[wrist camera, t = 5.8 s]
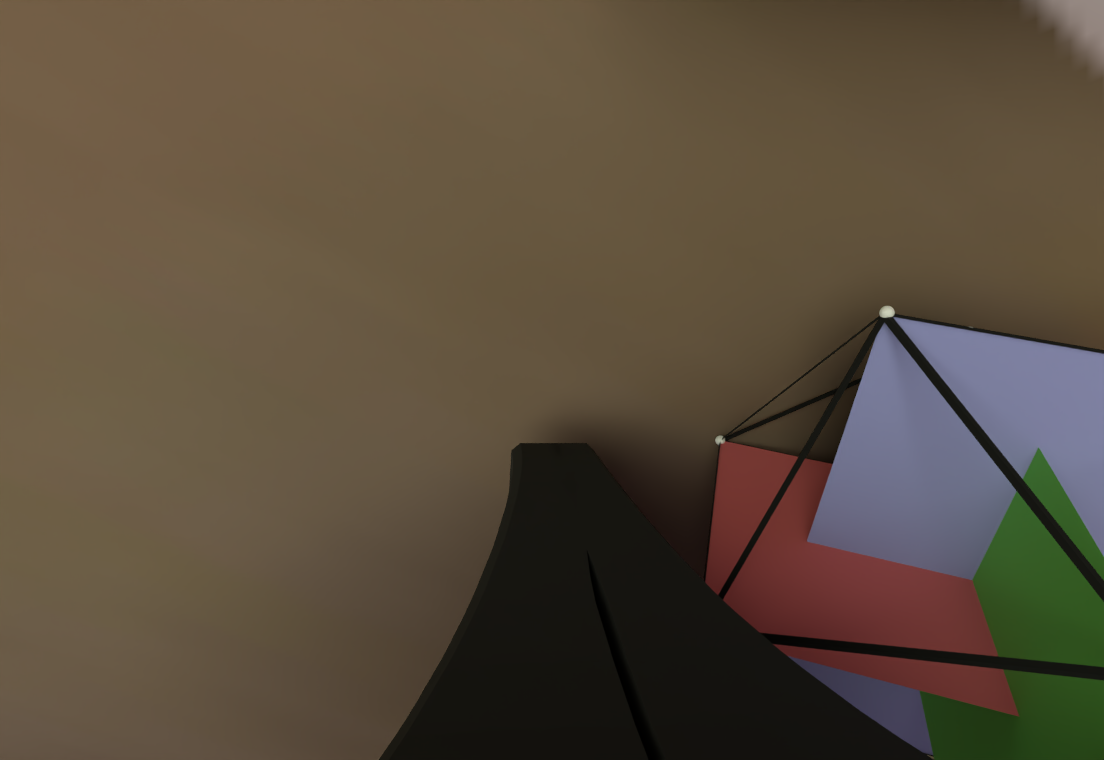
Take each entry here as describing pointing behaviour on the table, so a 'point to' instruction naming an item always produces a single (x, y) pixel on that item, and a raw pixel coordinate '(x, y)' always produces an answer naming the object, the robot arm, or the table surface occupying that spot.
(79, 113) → the table surface
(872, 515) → the geometric puzzle
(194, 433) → the table surface
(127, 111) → the table surface
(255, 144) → the table surface
